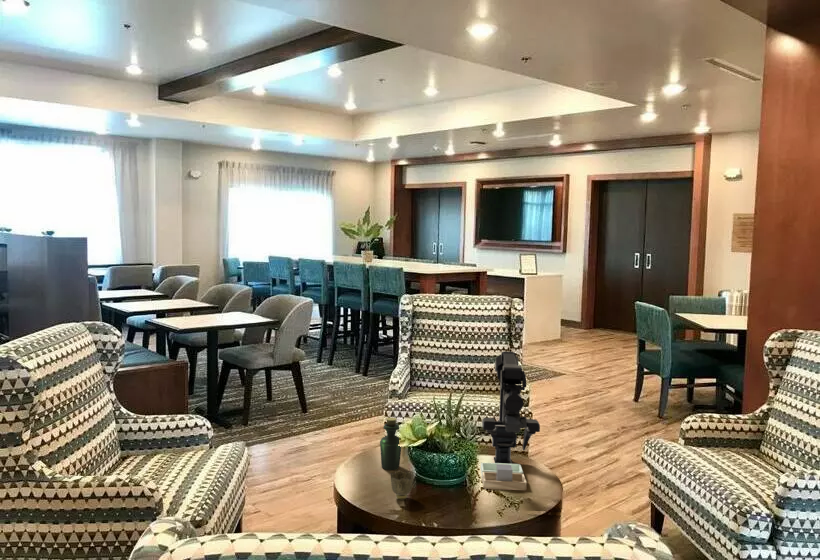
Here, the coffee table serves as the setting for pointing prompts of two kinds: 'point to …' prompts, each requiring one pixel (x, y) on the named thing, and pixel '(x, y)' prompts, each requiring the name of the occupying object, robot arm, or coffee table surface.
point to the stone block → (503, 472)
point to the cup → (401, 483)
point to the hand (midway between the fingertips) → (509, 449)
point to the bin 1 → (492, 466)
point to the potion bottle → (390, 446)
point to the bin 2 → (503, 482)
